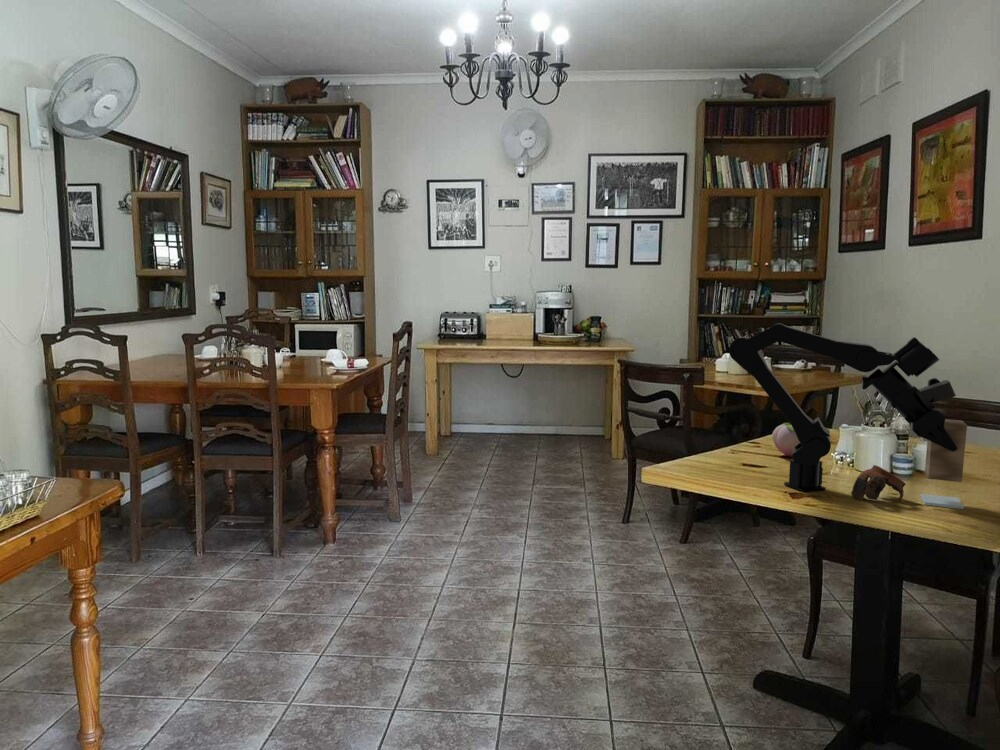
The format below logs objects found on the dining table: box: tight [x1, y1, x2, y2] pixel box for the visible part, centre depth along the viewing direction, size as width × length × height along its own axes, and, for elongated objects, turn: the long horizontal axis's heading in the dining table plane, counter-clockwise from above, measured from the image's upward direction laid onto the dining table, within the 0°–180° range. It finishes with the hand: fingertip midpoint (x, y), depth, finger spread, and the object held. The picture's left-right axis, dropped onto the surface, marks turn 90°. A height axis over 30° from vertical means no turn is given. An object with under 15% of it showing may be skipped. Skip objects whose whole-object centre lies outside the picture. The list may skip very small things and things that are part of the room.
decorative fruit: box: [771, 422, 800, 457], centre depth 196 cm, size 9×8×10 cm
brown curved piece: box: [850, 464, 906, 503], centre depth 155 cm, size 12×10×8 cm
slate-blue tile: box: [920, 493, 964, 510], centre depth 154 cm, size 7×7×1 cm
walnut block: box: [924, 418, 968, 483], centre depth 153 cm, size 6×6×12 cm
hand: (952, 447), depth 152 cm, fingers closed on walnut block, 6 cm apart
